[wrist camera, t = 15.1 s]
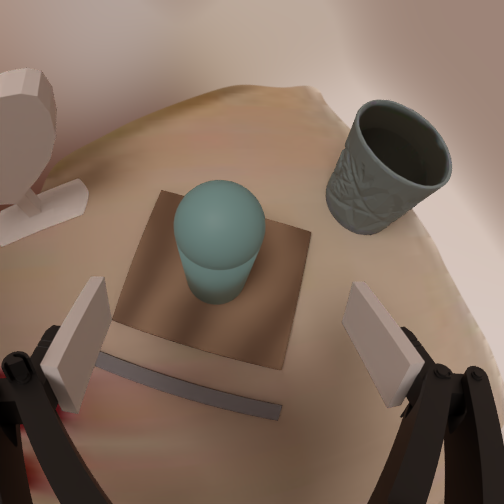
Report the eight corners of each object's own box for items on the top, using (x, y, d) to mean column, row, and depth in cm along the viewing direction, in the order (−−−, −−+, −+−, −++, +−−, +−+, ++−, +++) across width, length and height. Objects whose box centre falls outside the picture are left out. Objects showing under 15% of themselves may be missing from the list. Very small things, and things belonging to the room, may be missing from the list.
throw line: (91, 363, 25) (90, 363, 25) (95, 349, 26) (94, 349, 26) (277, 420, 26) (278, 420, 26) (281, 405, 27) (282, 405, 26)
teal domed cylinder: (178, 294, 28) (153, 236, 15) (196, 240, 30) (189, 152, 17) (237, 311, 28) (259, 267, 15) (252, 256, 30) (282, 176, 17)
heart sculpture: (93, 172, 32) (40, 47, 15) (99, 208, 31) (31, 83, 14) (-10, 216, 29) (-93, 131, 12) (-10, 252, 27) (-108, 174, 10)
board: (114, 321, 27) (112, 319, 26) (162, 193, 32) (161, 190, 32) (279, 369, 28) (281, 370, 27) (309, 235, 33) (311, 232, 32)
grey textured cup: (407, 224, 35) (468, 173, 24) (345, 256, 33) (405, 203, 21) (364, 158, 38) (407, 94, 27) (300, 178, 35) (335, 104, 24)
